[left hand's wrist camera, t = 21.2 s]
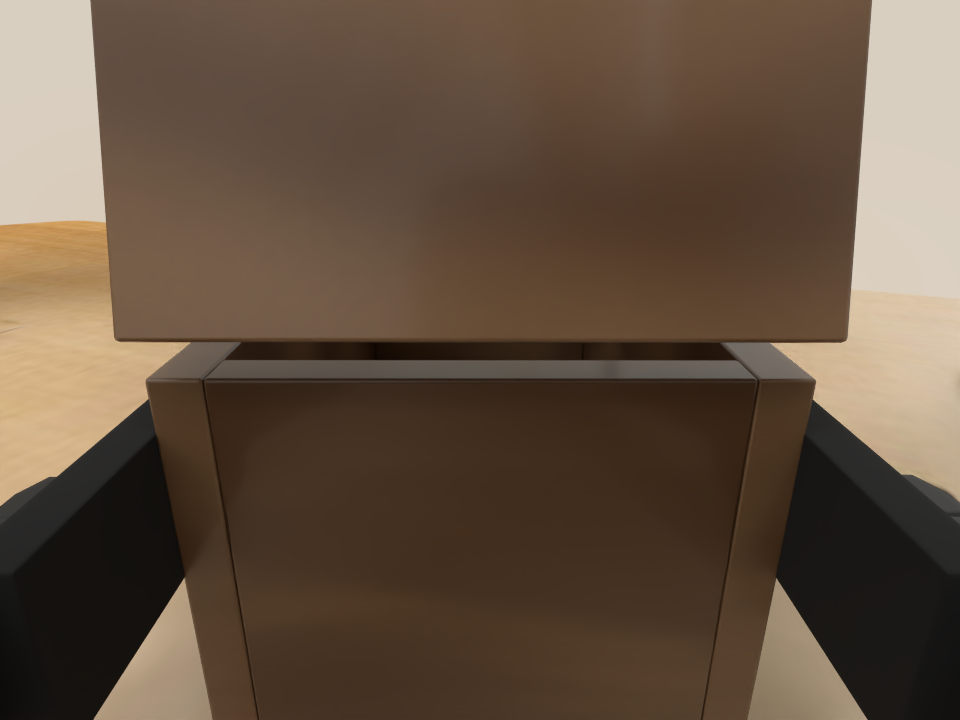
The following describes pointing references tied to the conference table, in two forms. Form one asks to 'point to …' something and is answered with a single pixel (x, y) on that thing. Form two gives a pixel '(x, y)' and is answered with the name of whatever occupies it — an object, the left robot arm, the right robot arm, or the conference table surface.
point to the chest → (480, 524)
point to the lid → (481, 169)
